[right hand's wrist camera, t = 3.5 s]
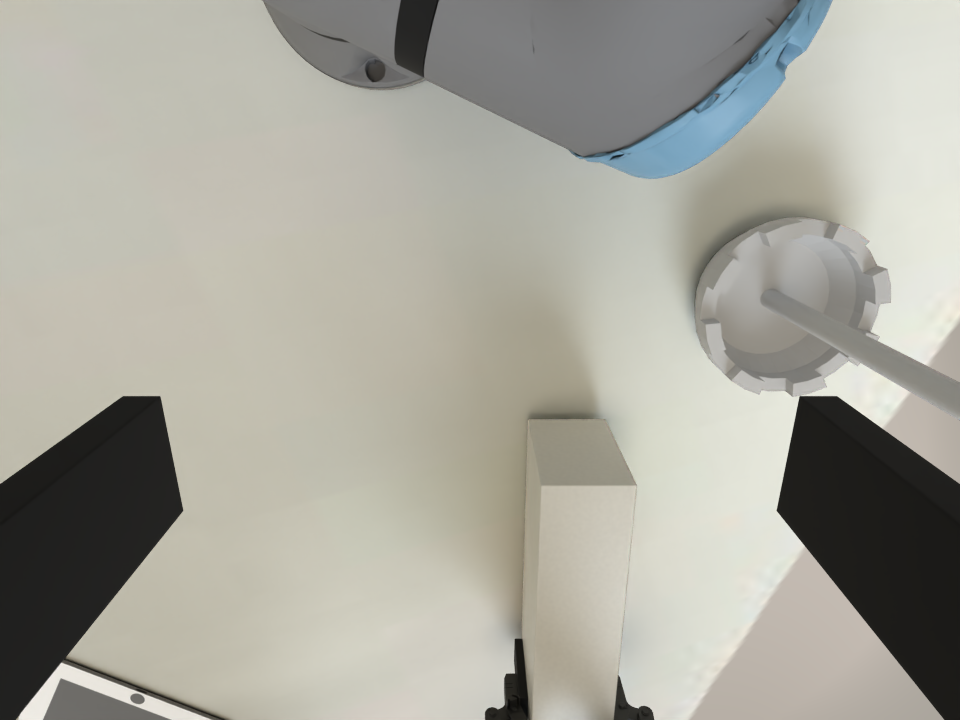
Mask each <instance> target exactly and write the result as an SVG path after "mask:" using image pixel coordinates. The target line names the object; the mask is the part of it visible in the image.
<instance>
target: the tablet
mask: <svg viewBox="0 0 960 720" xmlns="http://www.w3.org/2000/svg"><path fill="white" fill-rule="evenodd" d="M18 720H221V719H218V718H215V717H213V716H210V715H208V714H205V713H202V712H200V711H197V710H195V709H192V708H189V707H187V706H184V705H181V704H179V703H176V702H174V701H171V700H168V699H166V698H163V697H160V696H158V695H155V694H153V693H150V692H147V691H145V690H142V689H139V688H137V687H134V686H132V685H129V684H126V683H124V682H121V681H118V680H116V679H113V678H111V677H108V676H105V675H103V674H100V673H97V672H95V671H92V670H90V669H87V668H84V667H82V666H79V665H77V664H74V663H71V662H69V661H66V660H63V661H62V663H61V664H60V665H59V666H58V667H57V669H56V670H55V671H54V672H53V674H52V675H51V676H50V677H49V679H48V680H47V681H46V682H45V684H44V685H43V686H42V687H41V689H40V690H39V691H38V692H37V694H36V695H35V696H34V697H33V699H32V700H31V701H30V702H29V704H28V705H27V706H26V707H25V709H24V710H23V711H22V712H21V714H20V716H19V718H18Z"/></svg>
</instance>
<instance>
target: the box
mask: <svg viewBox="0 0 960 720" xmlns="http://www.w3.org/2000/svg"><path fill="white" fill-rule="evenodd" d="M636 491H637V484H636V482H635V480H634V478H633V476H632V474H631V472H630V470H629V468H628V466H627V464H626V461H625V459H624V457H623V455H622V453H621V451H620V449H619V447H618V445H617V443H616V441H615V439H614V437H613V434H612V432H611V430H610V428H609V426H608V424H607V422H606V420H605V419H528V434H527V468H526V502H525V536H524V571H523V605H522V639H523V649H524V659H525V670H526V680H527V690H528V719H527V720H614V711H615V701H616V691H617V681H618V671H619V661H620V651H621V641H622V631H623V621H624V611H625V601H626V591H627V581H628V571H629V561H630V551H631V541H632V531H633V521H634V511H635V501H636Z"/></svg>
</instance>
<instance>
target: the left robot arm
mask: <svg viewBox="0 0 960 720" xmlns="http://www.w3.org/2000/svg"><path fill="white" fill-rule="evenodd" d="M514 665H515V674H506V676H505V678H504V696H505V705H504V707H502V708H500V709H498V710H497V709H496V708H493V707H491V708H488V709H487V710H486V712H485V720H527V719H528V690H527V680H526V670H525V659H524V649H523V639H515V649H514ZM614 720H654V716H653V712H652V710H651V709H650V708H649V707H647V706H641V707H639V709H638V708H634V707H632V706H630V705H629V704H628V703H627V701H626V698H625V694H624V691H623V687H622V683H621V680H620V677H619V676H618V681H617V691H616V701H615V711H614Z"/></svg>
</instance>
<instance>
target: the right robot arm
mask: <svg viewBox="0 0 960 720" xmlns="http://www.w3.org/2000/svg"><path fill="white" fill-rule="evenodd" d="M263 1H264V4H265V6H266V8H267V10H268V12H269V14H270V16H271V18H272V20H273V22H274V23H275V25H276V26H277V28H278V30H279V31H280V33H281V34H282V35H283V37H284V38H285V39H286V41H287V42H288V43H289V44H290V45H291V47H292V48H293V49H294V50H295V51H296V52H297V53H298V54H299V55H300V56H301V57H302V58H303V59H305V60H306V61H307V62H308V63H310V64H311V65H312V66H313V67H315V68H316V69H318V70H319V71H321V72H323V73H324V74H326V75H328V76H330V77H332V78H334V79H336V80H339V81H341V82H344V83H346V84H349V85H352V86H356V87H359V88H365V89H371V90H393V89H399V88H404V87H407V86H411V85H414V84H417V83H419V82H422V81H424V80H427V81H429V82H431V83H434V84H436V85H438V86H440V87H442V88H444V89H446V90H448V91H450V92H452V93H454V94H456V95H458V96H460V97H462V98H464V99H466V100H468V101H470V102H472V103H474V104H476V105H478V106H480V107H483V108H485V109H487V110H489V111H491V112H493V113H495V114H497V115H499V116H501V117H503V118H505V119H507V120H509V121H511V122H513V123H515V124H517V125H519V126H521V127H523V128H525V129H527V130H530V131H532V132H534V133H536V134H538V135H540V136H542V137H544V138H546V139H548V140H550V141H552V142H554V143H556V144H558V145H560V146H562V147H564V148H566V149H568V150H569V151H570V152H571V153H572V154H573V155H575V156H576V157H578V158H580V159H585V160H587V161H589V162H601V163H603V164H606V165H608V166H610V167H613V168H615V169H618V170H620V171H622V172H625V173H627V174H629V175H632V176H635V177H639V178H647V179H657V178H663V177H667V176H671V175H674V174H677V173H680V172H682V171H684V170H686V169H688V168H690V167H692V166H694V165H696V164H697V163H699V162H701V161H702V160H704V159H705V158H707V157H708V156H710V155H711V154H712V153H714V152H715V151H716V150H718V149H719V148H720V147H721V146H723V145H724V144H725V143H726V142H727V141H729V140H730V139H731V138H732V137H733V136H734V135H735V134H737V133H738V132H739V131H740V130H741V129H742V128H743V127H744V126H745V125H746V124H747V123H748V122H749V121H750V120H751V119H752V118H753V117H754V116H755V115H756V114H757V113H758V112H759V111H760V110H761V108H762V107H763V106H764V105H765V104H766V103H767V102H768V100H769V99H770V98H771V97H772V96H773V95H774V93H775V92H776V91H777V90H778V88H779V87H780V86H781V84H782V83H783V82H784V80H785V79H786V78H785V70H786V68H787V65H788V64H790V63H791V62H792V61H793V60H794V59H795V58H796V57H798V56H799V55H800V54H802V53H803V52H804V51H806V49H807V48H808V46H809V44H810V43H811V41H812V40H813V38H814V36H815V35H816V33H817V31H818V29H819V28H820V26H821V24H822V22H823V20H824V18H825V16H826V14H827V12H828V10H829V7H830V5H831V3H832V0H263ZM182 512H183V507H182V502H181V497H180V492H179V487H178V482H177V477H176V472H175V467H174V462H173V457H172V452H171V447H170V442H169V437H168V432H167V427H166V422H165V417H164V412H163V407H162V402H161V397H160V396H123V397H121V398H120V399H119V400H117V401H116V402H114V403H113V404H112V405H110V406H109V407H107V408H106V409H105V410H103V411H102V412H100V413H99V414H98V415H96V416H95V417H93V418H92V419H91V420H89V421H88V422H86V423H85V424H84V425H82V426H81V427H79V428H78V429H77V430H75V431H74V432H72V433H71V434H70V435H68V436H67V437H65V438H64V439H63V440H61V441H60V442H58V443H57V444H56V445H54V446H53V447H51V448H50V449H49V450H47V451H46V452H44V453H43V454H42V455H40V456H39V457H37V458H36V459H35V460H33V461H32V462H30V463H29V464H28V465H26V466H25V467H23V468H22V469H21V470H19V471H18V472H16V473H15V474H14V475H12V476H11V477H10V478H8V479H7V480H5V481H4V482H3V483H1V484H0V720H16V719H17V717H18V716H19V715H20V714H21V712H22V711H23V710H24V709H25V707H26V706H27V705H28V704H29V702H30V701H31V700H32V699H33V697H34V696H35V695H36V694H37V692H38V691H39V690H40V689H41V687H42V686H43V685H44V684H45V682H46V681H47V680H48V679H49V677H50V676H51V675H52V674H53V672H54V671H55V670H56V669H57V667H58V666H59V665H60V664H61V663H62V661H63V660H64V659H65V658H66V656H67V655H68V654H69V653H70V651H71V650H72V649H73V648H74V646H75V645H76V644H77V643H78V641H79V640H80V639H81V638H82V636H83V635H84V634H85V633H86V631H87V630H88V629H89V628H90V626H91V625H92V624H93V623H94V621H95V620H96V619H97V618H98V616H99V615H100V614H101V613H102V611H103V610H104V609H105V608H106V606H107V605H108V604H109V603H110V601H111V600H112V599H113V598H114V596H115V595H116V594H117V593H118V591H119V590H120V589H121V588H122V586H123V585H124V584H125V583H126V581H127V580H128V579H129V578H130V577H131V575H132V574H133V573H134V572H135V570H136V569H137V568H138V567H139V565H140V564H141V563H142V562H143V560H144V559H145V558H146V557H147V555H148V554H149V553H150V552H151V550H152V549H153V548H154V547H155V545H156V544H157V543H158V542H159V540H160V539H161V538H162V537H163V535H164V534H165V533H166V532H167V530H168V529H169V528H170V527H171V525H172V524H173V523H174V522H175V520H176V519H177V518H178V517H179V515H180V514H181V513H182ZM777 512H778V513H779V514H780V515H781V517H782V518H783V519H784V520H785V522H786V523H787V524H788V525H789V527H790V528H791V529H792V530H793V532H794V533H795V534H796V535H797V537H798V538H799V539H800V540H801V542H802V543H803V544H804V545H805V547H806V548H807V549H808V550H809V552H810V553H811V554H812V555H813V557H814V558H815V559H816V560H817V562H818V563H819V564H820V565H821V566H822V568H823V569H824V570H825V572H826V573H827V574H828V575H829V577H830V578H831V579H832V580H833V581H834V583H835V584H836V585H837V586H838V588H839V589H840V590H841V591H842V593H843V594H844V595H845V596H846V598H847V599H848V600H849V601H850V603H851V604H852V605H853V606H854V608H855V609H856V610H857V611H858V613H859V614H860V615H861V616H862V618H863V619H864V620H865V621H866V623H867V624H868V625H869V626H870V628H871V629H872V630H873V631H874V633H875V634H876V635H877V636H878V637H879V639H880V640H881V641H882V643H883V644H884V645H885V646H886V648H887V649H888V650H889V651H890V653H891V654H892V655H893V656H894V657H895V659H896V660H897V661H898V663H899V664H900V665H901V666H902V667H903V669H904V670H905V671H906V672H907V674H908V675H909V676H910V677H911V679H912V680H913V681H914V682H915V684H916V685H917V686H918V687H919V689H920V690H921V691H922V692H923V694H924V695H925V696H926V697H927V699H928V700H929V701H930V702H931V704H932V705H933V706H934V707H935V709H936V710H937V711H938V712H939V714H940V715H941V716H942V717H943V719H944V720H960V484H959V483H957V482H956V481H955V480H953V479H952V478H950V477H949V476H948V475H946V474H945V473H944V472H942V471H941V470H939V469H938V468H936V467H935V466H934V465H932V464H931V463H930V462H928V461H927V460H925V459H924V458H922V457H921V456H920V455H918V454H917V453H916V452H914V451H913V450H911V449H910V448H909V447H907V446H906V445H904V444H903V443H902V442H900V441H899V440H897V439H896V438H895V437H893V436H892V435H890V434H889V433H888V432H886V431H885V430H883V429H882V428H881V427H879V426H878V425H876V424H875V423H874V422H872V421H871V420H869V419H868V418H867V417H865V416H864V415H862V414H861V413H860V412H858V411H857V410H855V409H854V408H853V407H851V406H850V405H848V404H847V403H846V402H844V401H843V400H841V399H840V398H839V397H837V396H800V397H799V402H798V407H797V412H796V417H795V422H794V427H793V432H792V437H791V442H790V447H789V452H788V457H787V462H786V467H785V472H784V477H783V482H782V487H781V492H780V497H779V502H778V507H777Z"/></svg>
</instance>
